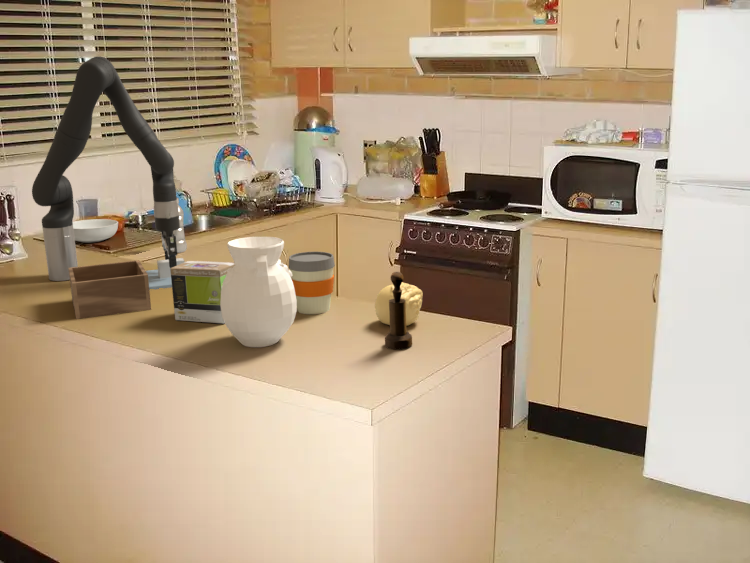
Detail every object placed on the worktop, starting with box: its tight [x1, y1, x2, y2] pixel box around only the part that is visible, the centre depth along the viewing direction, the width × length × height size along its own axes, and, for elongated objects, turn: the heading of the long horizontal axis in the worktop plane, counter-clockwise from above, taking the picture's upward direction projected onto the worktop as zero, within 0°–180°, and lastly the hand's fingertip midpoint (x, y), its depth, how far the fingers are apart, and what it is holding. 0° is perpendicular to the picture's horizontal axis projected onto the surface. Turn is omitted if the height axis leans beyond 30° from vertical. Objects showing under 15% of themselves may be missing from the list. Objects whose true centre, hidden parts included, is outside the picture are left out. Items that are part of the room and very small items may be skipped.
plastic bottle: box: [171, 197, 188, 254], centre depth 307 cm, size 6×7×20 cm
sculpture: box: [374, 282, 424, 327], centre depth 219 cm, size 12×12×11 cm
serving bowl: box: [73, 218, 119, 244], centre depth 335 cm, size 21×21×7 cm
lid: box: [145, 257, 186, 291], centre depth 272 cm, size 22×22×7 cm
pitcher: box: [220, 236, 298, 348], centre depth 206 cm, size 19×18×25 cm
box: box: [68, 259, 152, 320], centre depth 243 cm, size 20×20×10 cm
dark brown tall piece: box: [384, 271, 413, 350], centre depth 201 cm, size 7×6×18 cm
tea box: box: [170, 260, 235, 324], centre depth 228 cm, size 15×10×15 cm, turn 71°
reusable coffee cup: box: [287, 251, 336, 315], centre depth 233 cm, size 13×13×15 cm
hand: (171, 264), depth 272 cm, fingers open, 8 cm apart
